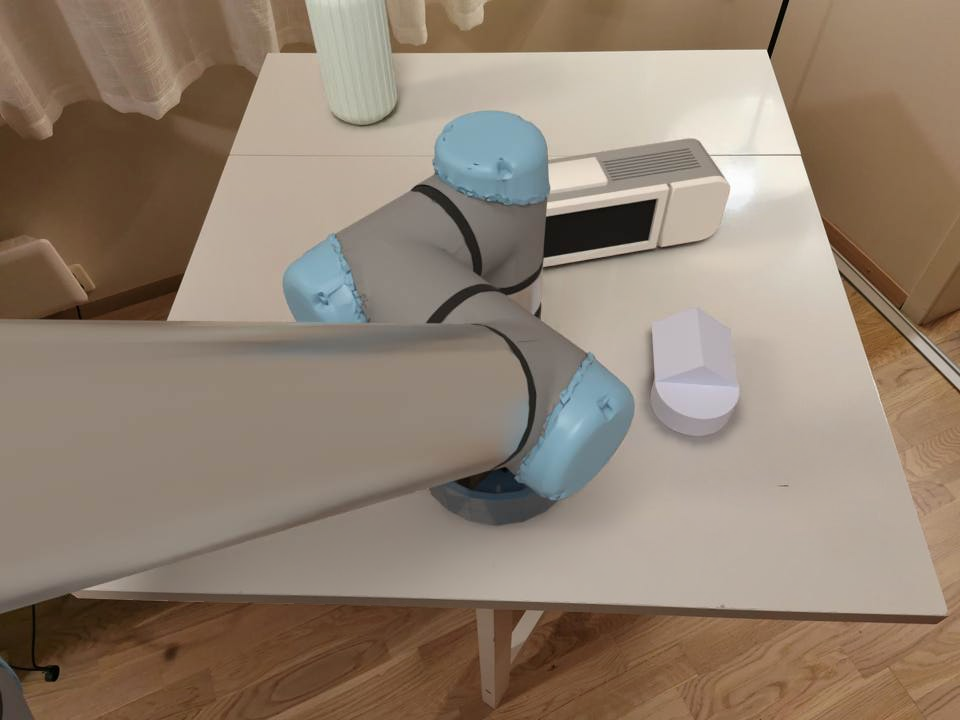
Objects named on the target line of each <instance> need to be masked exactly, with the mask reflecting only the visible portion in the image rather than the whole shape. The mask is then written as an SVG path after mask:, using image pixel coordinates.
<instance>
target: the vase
mask: <svg viewBox="0 0 960 720" xmlns="http://www.w3.org/2000/svg"><path fill="white" fill-rule="evenodd" d="M304 2H305V6H306V10H307V14H308V20H309V25H310V28H311V33H312V37H313V43H314V47H315V52H316V56H317V61H318V65H319V69H320V75H321V79H322V83H323V88H324V92H325V97H326V102H327V105H328V107H329V109H330V111H331V112H332V114H333V115H335V117H337V118H338V119H340V120H342V121H343V122H346V123H349V124H351V125H356V126H357V125H358V126H365V125H371V124H375V123H378V122H380V121H381V120H383V119H384V118H385V117H387V116H389V114H390V113H391V112H392V111H393V110H394V108H395V106H396V104H397V101H398V89H397V82H396V73H395V67H394V59H393V58H394V57H393V52H392V51H393V50H392V44H391V37H390V29H389V21H388V14H387V6H386V0H304Z"/></svg>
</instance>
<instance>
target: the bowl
mask: <svg viewBox="0 0 960 720" xmlns="http://www.w3.org/2000/svg"><path fill="white" fill-rule="evenodd" d="M428 490H429V492H430V494H431V495H432V496H433V497H434V498H435V499H436V500H437V501H438V502H439V503H440V505H442V506H443V507H444V508H445V509H446V510H447V511H449V512H450V513H453V514H454V515H457V516H458V517H461V518H463V519H464V520H467V521H469V522H471V523H477V524H483V525H491V526H496V527H497V526H504V525H512V524H518V523H524V522H526V521H529V520H531V519H533V518H535V517H537V516H540V515H542V514H543V513H546V512H547V511H549V509H551V507H553V506H554V505H555V504H556V503H557V502H558V501H559V500H550V499H549V498H544V497H542V496H540V495H539V494H538V493H536V492H535V491H534V490H532V489H531V488H530V487H529V486H527V485H526V484H525V483H519V482H518V481H517V480H516V479H515V475H514V474H513V473H512V472H511V471H510V470H508V471H507V472H506V473H504V472H503V471H502V470H501V469H500V468H499V469H496V470H495V471H493V472H492V473H491V474H490V475H489V476H488V477H487V478H486V479H484V480H483V481H482V482H481V483H480V484H479V485H478V486H477V487H475V488H474V489H473V490H470V489H468V488H465V487H463V486H462V485H461V484H460V483H459V482H458V481H457V480H455V481H451V482H448V483H445V484H441V485H438V486H434V487H431V488H428Z"/></svg>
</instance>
